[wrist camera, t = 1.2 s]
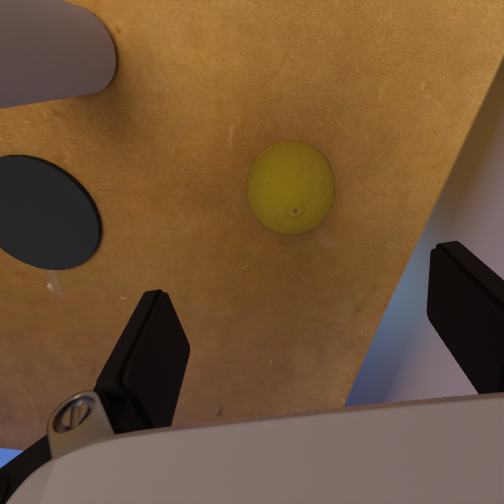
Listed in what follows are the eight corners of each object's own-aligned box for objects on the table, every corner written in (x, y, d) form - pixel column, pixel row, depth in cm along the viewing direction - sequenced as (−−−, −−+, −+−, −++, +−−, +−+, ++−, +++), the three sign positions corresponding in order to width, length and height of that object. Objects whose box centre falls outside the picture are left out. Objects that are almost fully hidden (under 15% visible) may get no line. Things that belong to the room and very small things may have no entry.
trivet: (-47, 204, 26) (-54, 206, 26) (21, 126, 23) (15, 127, 22) (55, 284, 30) (52, 288, 29) (126, 227, 27) (123, 230, 26)
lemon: (314, 207, 25) (334, 260, 18) (245, 199, 25) (238, 250, 18) (331, 135, 22) (361, 165, 16) (253, 125, 22) (248, 152, 15)
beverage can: (128, 90, 21) (1, 112, 11) (60, 96, 22) (-126, 124, 11) (106, 0, 19) (-82, -79, 9) (30, 8, 19) (-240, -58, 9)
